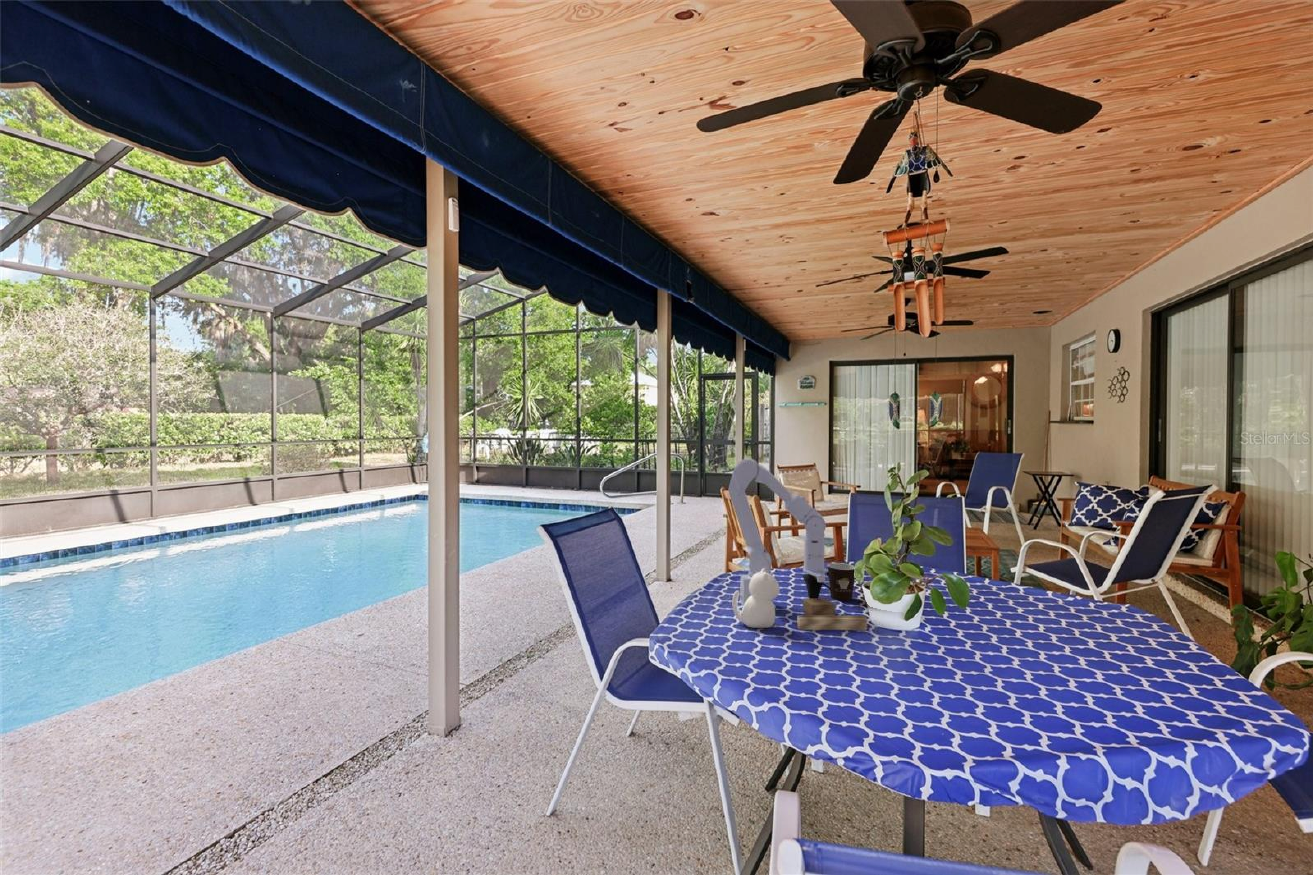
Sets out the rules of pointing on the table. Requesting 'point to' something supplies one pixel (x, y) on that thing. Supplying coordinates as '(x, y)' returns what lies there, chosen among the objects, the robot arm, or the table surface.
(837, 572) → the coffee mug
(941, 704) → the table surface
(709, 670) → the table surface
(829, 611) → the walnut block
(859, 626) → the board
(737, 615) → the cat figurine
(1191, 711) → the table surface
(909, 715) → the table surface
